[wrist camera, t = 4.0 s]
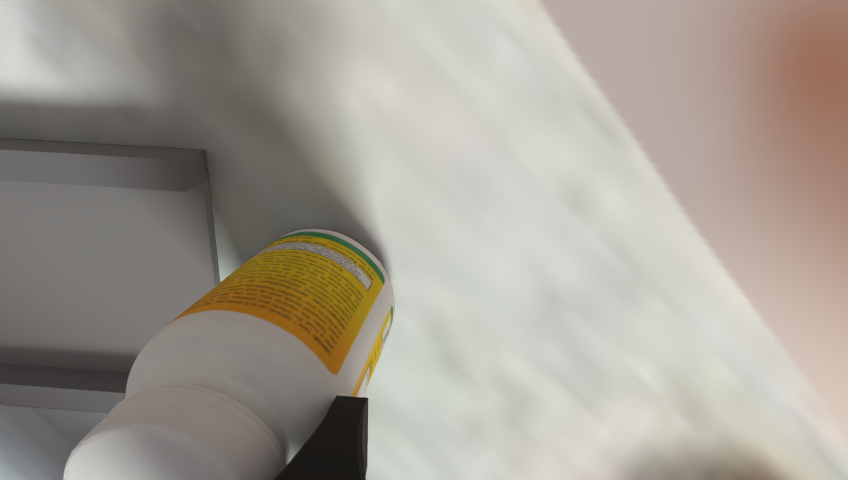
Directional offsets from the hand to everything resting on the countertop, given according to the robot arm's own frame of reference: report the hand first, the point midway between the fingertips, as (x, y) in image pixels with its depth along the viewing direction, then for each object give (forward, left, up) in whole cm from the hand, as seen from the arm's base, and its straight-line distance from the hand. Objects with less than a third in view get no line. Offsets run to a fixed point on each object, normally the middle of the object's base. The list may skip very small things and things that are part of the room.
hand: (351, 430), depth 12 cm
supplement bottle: (0, +2, -7) cm, 7 cm away
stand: (0, +12, -7) cm, 14 cm away
